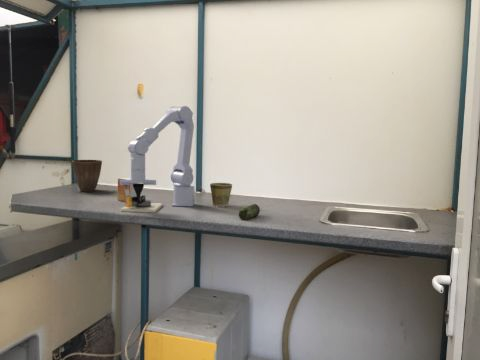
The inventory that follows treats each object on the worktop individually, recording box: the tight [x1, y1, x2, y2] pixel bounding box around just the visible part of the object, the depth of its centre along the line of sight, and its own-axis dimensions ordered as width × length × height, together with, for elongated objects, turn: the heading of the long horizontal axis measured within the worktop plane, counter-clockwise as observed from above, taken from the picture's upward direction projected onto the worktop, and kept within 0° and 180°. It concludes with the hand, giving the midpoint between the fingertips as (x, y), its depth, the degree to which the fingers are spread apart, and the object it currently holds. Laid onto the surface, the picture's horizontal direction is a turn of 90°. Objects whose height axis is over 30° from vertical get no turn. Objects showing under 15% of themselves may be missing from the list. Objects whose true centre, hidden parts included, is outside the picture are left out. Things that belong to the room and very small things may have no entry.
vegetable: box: [238, 203, 261, 220], centre depth 162 cm, size 14×5×5 cm, turn 154°
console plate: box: [120, 202, 163, 213], centre depth 173 cm, size 14×16×1 cm
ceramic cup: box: [209, 182, 233, 208], centre depth 186 cm, size 13×10×10 cm
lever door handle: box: [125, 194, 152, 207], centre depth 171 cm, size 12×7×4 cm, turn 145°
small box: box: [117, 177, 137, 203], centre depth 189 cm, size 8×6×10 cm
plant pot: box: [71, 159, 103, 193], centre depth 215 cm, size 15×15×16 cm
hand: (138, 202), depth 168 cm, fingers closed, pressing on lever door handle
